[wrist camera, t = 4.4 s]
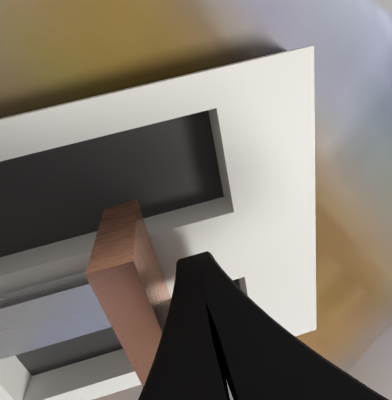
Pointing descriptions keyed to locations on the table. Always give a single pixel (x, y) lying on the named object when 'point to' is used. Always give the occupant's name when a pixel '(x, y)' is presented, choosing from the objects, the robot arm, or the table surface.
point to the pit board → (163, 200)
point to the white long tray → (97, 296)
